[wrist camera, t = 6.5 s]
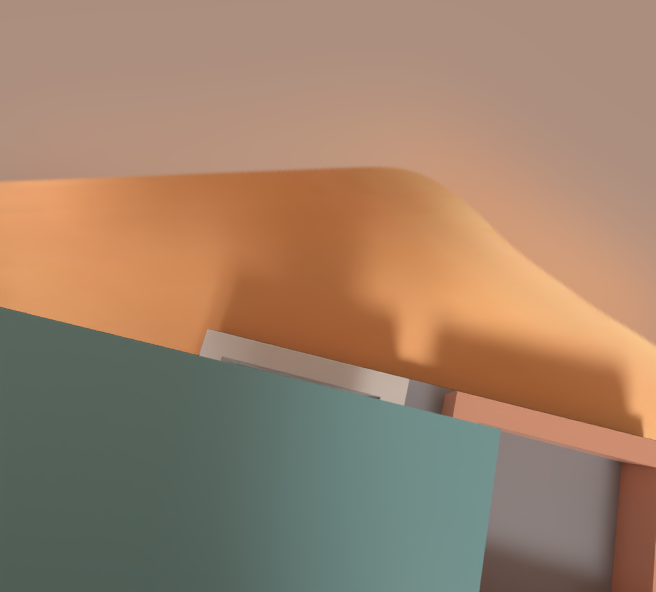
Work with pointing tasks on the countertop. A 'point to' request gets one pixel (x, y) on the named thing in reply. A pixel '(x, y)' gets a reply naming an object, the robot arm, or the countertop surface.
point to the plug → (223, 476)
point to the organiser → (519, 478)
